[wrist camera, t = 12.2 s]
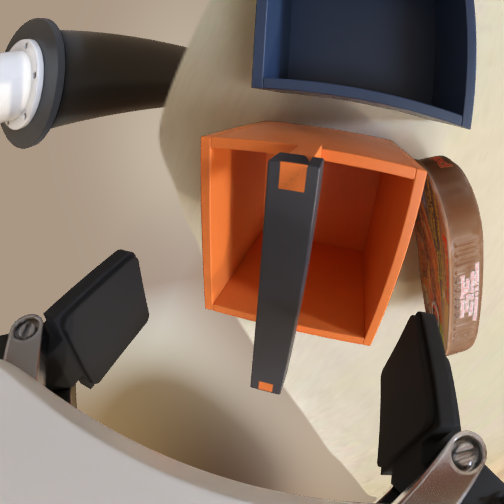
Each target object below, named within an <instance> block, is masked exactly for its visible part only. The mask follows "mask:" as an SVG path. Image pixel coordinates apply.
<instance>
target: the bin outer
mask: <svg viewBox="0 0 504 504" xmlns="http://www.w3.org/2000/svg"><path fill="white" fill-rule="evenodd" d="M475 80H476V20H475V7H474V0H257V4H256V20H255V36H254V53H253V70H252V88H257V89H263V90H269V91H275V92H281V93H292V94H302V95H311V96H319V97H327V98H334V99H340V100H346V101H352V102H358V103H363V104H368V105H373V106H378V107H383V108H387V109H392V110H396V111H400V112H404V113H408V114H412V115H415V116H419V117H423V118H426V119H430V120H433V121H437V122H442V123H446V124H450V125H454V126H458V127H462V128H466V129H471V122H472V114H473V105H474V94H475Z"/></svg>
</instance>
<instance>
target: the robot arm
mask: <svg viewBox="0 0 504 504" xmlns="http://www.w3.org/2000/svg"><path fill="white" fill-rule="evenodd" d="M43 80H44V62H43V55H42V52H41V49H40V47H39V45H38V43H37V42H36V41H35V40H33V39H23V40H20V41H18V42H17V43H16V44H15V45H14V46H13V47H12V48H11V50H10V51H9V52H3V53H0V123H3V122H5V123H6V125H7V126H8V127H9V128H10V129H13V130H18V129H21V128H24V127H25V126H27V125H28V124H29V123H30V122H31V120H32V118H33V117H34V115H35V113H36V110H37V108H38V105H39V102H40V98H41V93H42V88H43ZM44 316H45V318H46V321H45V322H44V323H43V320H42V318H41V317H39V316H38V315H35V314H29V315H25V316H23V317H21V318H19V319H18V320H17V321H15V323H14V324H13V325H12V327H11V329H10V332H9V334H6V335H1V336H0V504H504V483H503V482H502V481H501V480H500V479H499V478H498V477H497V476H496V475H495V474H494V473H493V472H492V471H491V470H490V469H489V468H488V467H487V466H486V465H485V461H486V456H487V451H486V445H485V443H484V441H483V439H482V438H481V437H480V436H479V435H478V434H476V433H474V432H472V431H467V430H466V431H461V426H460V418H459V411H458V404H457V398H456V392H455V387H454V381H453V376H452V371H451V367H450V363H449V360H448V358H447V357H446V353H445V349H444V345H443V341H442V337H441V333H440V329H439V326H438V322H437V319H436V316H435V314H431V313H425V312H417V313H416V315H412V316H411V317H410V318H409V320H408V322H407V324H406V327H405V329H404V331H403V333H402V335H401V337H400V339H399V341H398V343H397V344H396V346H395V348H394V350H393V352H392V354H391V356H390V358H389V359H388V361H387V363H386V365H385V367H384V368H383V371H382V374H381V406H380V432H379V447H378V459H377V464H378V467H381V475H392V479H391V484H392V485H391V486H390V487H389V488H388V489H387V490H386V491H385V492H384V493H383V494H382V495H381V496H380V497H379V498H378V499H377V500H376V501H374V502H373V503H359V502H346V501H336V500H328V499H320V498H313V497H307V496H301V495H295V494H289V493H284V492H279V491H274V490H270V489H265V488H261V487H256V486H252V485H249V484H245V483H242V482H238V481H234V480H230V479H228V478H225V477H221V476H218V475H215V474H212V473H209V472H206V471H203V470H200V469H198V468H195V467H192V466H190V465H187V464H184V463H182V462H179V461H177V460H174V459H172V458H169V457H167V456H164V455H162V454H160V453H158V452H156V451H153V450H151V449H149V448H147V447H144V446H143V445H141V444H139V443H137V442H135V441H133V440H131V439H129V438H127V437H125V436H123V435H121V434H119V433H117V432H115V431H114V430H112V429H110V428H108V427H106V426H104V425H103V424H101V423H99V422H98V421H96V420H94V419H93V418H91V417H89V416H87V415H86V414H84V413H83V412H81V411H80V410H78V409H77V405H76V382H77V381H78V380H79V381H80V383H81V384H83V385H85V386H86V387H88V388H90V389H91V388H92V387H93V386H94V384H97V383H99V382H100V381H101V380H102V378H103V377H104V376H105V374H106V373H107V372H108V370H109V369H110V368H111V367H112V365H113V364H114V363H115V362H116V360H117V359H118V358H119V356H120V355H121V354H122V353H123V351H124V350H125V349H126V348H127V346H128V345H129V344H130V343H131V341H132V340H133V339H134V338H135V336H136V335H137V334H138V333H139V331H140V330H141V329H142V327H143V326H144V325H145V324H146V323H147V321H148V318H149V312H148V307H147V303H146V298H145V293H144V288H143V283H142V277H141V273H140V267H139V261H138V259H137V258H136V256H135V254H134V253H133V252H129V251H124V250H117V251H116V252H115V253H113V254H112V255H111V256H110V257H108V258H107V259H106V260H105V261H103V262H102V263H101V264H100V265H99V266H97V267H96V268H95V269H94V270H92V271H91V272H90V273H89V274H88V275H87V276H85V277H84V278H83V279H82V280H81V281H80V282H78V283H77V284H76V285H75V286H74V287H73V288H71V289H70V290H69V291H68V292H67V293H66V294H65V295H63V297H61V298H60V299H59V300H58V301H57V302H56V303H55V304H53V305H52V306H51V307H50V308H49V309H48V310H47V311H46V312H45V313H44Z"/></svg>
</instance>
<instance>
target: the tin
mask: <svg viewBox="0 0 504 504" xmlns="http://www.w3.org/2000/svg"><path fill="white" fill-rule="evenodd" d="M414 160H415V161H416V162H417V163H418V164H420V165H421V166H422V167H423V168H424V169H425V170H426V171H427V175H426V180H425V184H424V189H423V193H422V197H421V201H420V205H419V209H418V213H417V217H416V220H415V231H416V237H417V245H418V253H419V262H420V272H421V283H422V290H423V298H424V304H425V310H426V313H431V314H435V316H436V319H437V322H438V326H439V329H440V333H441V337H442V341H443V345H444V349H445V353H446V356H449V355H452V354H455V353H459V352H462V351H465V350H467V349H469V348H470V347H471V346H472V345H473V344H474V342H475V339H476V336H477V332H478V326H479V318H480V310H481V299H482V285H483V231H482V223H481V217H480V213H479V208H478V204H477V201H476V198H475V195H474V192H473V190H472V187H471V185H470V183H469V181H468V179H467V177H466V176H465V174H464V172H463V171H462V170H461V168H460V167H459V166H458V165H456V164H455V163H454V162H452V161H451V160H450V159H449V158H447V157H445V156H434V157H430V158H425V159H421V160H416V159H414Z"/></svg>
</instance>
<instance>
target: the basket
mask: <svg viewBox="0 0 504 504" xmlns="http://www.w3.org/2000/svg"><path fill="white" fill-rule="evenodd" d="M426 175H427V171H426V170H425V169H424V168H423V167H422V166H421V165H420V164H418V163H417V162H416V161H415V160H414V159H413V158H411V157H410V156H409V155H408V154H407V153H406V152H404V151H403V150H402V149H401V148H400V147H398V146H397V145H396V144H395V143H393V142H392V141H391V140H387V139H382V138H378V137H373V136H368V135H363V134H358V133H353V132H347V131H341V130H335V129H329V128H322V127H315V126H308V125H300V124H292V123H283V122H273V121H262V122H257V123H252V124H248V125H244V126H240V127H235V128H231V129H227V130H223V131H220V132H216V133H212V134H208V135H205V136H202V137H201V219H202V251H203V274H204V293H205V308H206V309H210V310H214V311H217V312H221V313H225V314H229V315H232V316H236V317H240V318H244V319H247V320H251V321H255V322H256V327H255V340H254V352H253V364H252V375H251V387H252V388H256V389H259V390H263V391H267V392H271V393H275V394H280V393H281V390H282V387H283V383H284V380H285V377H286V374H287V370H288V365H289V361H290V356H291V352H292V347H293V343H294V338H295V334H296V331H298V332H303V333H307V334H312V335H317V336H321V337H326V338H331V339H336V340H341V341H346V342H352V343H357V344H363V345H368V346H370V345H371V343H372V341H373V338H374V336H375V334H376V332H377V329H378V327H379V325H380V322H381V320H382V317H383V315H384V312H385V310H386V307H387V305H388V302H389V300H390V297H391V294H392V292H393V289H394V286H395V284H396V281H397V278H398V275H399V272H400V269H401V266H402V263H403V260H404V257H405V254H406V251H407V248H408V245H409V241H410V238H411V235H412V231H413V228H414V224H415V220H416V217H417V213H418V209H419V205H420V201H421V197H422V193H423V189H424V184H425V180H426Z"/></svg>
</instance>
